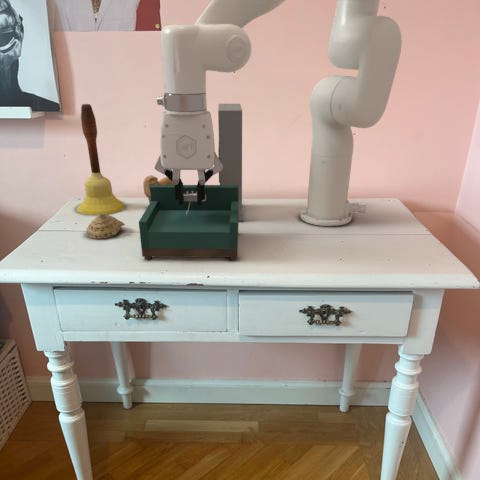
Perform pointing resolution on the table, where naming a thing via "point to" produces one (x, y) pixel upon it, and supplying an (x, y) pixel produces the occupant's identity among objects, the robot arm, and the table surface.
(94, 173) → the handbell
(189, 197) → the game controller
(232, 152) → the tall grey pillar
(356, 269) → the table surface
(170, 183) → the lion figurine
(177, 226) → the sofa
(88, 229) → the seashell
